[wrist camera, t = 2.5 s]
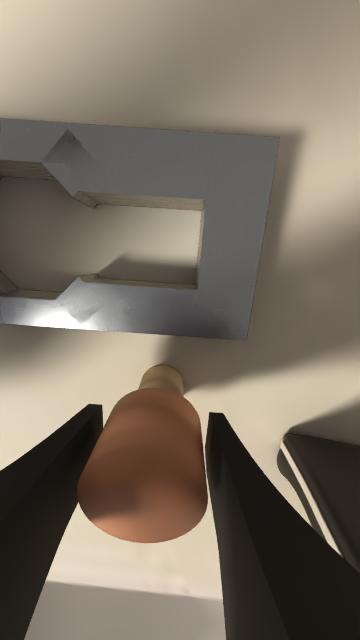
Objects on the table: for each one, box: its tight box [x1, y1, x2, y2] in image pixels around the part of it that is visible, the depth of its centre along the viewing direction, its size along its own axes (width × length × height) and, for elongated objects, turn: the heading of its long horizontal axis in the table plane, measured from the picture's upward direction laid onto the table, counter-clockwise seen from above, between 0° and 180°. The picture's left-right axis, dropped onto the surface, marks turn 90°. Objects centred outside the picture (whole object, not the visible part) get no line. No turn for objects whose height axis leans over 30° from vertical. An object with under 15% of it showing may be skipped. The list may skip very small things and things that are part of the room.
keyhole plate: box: [0, 118, 280, 340], centre depth 10 cm, size 14×8×2 cm, turn 86°
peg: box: [77, 365, 208, 543], centre depth 10 cm, size 4×4×6 cm
